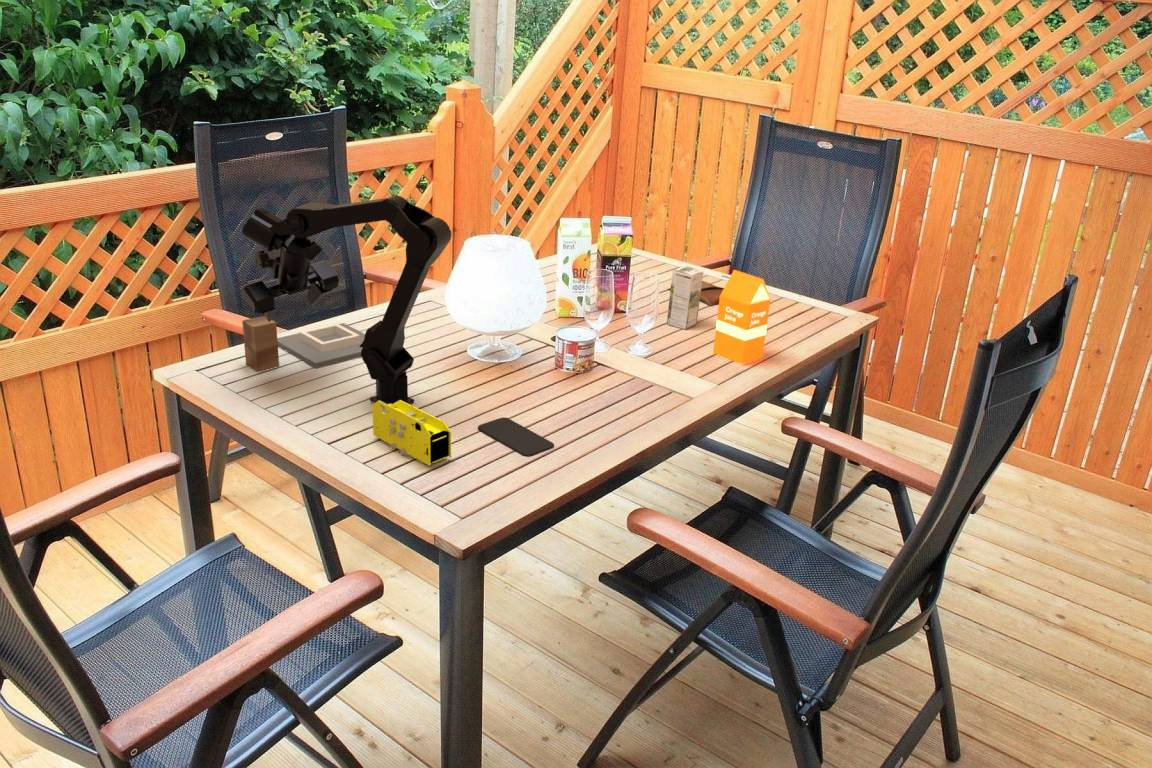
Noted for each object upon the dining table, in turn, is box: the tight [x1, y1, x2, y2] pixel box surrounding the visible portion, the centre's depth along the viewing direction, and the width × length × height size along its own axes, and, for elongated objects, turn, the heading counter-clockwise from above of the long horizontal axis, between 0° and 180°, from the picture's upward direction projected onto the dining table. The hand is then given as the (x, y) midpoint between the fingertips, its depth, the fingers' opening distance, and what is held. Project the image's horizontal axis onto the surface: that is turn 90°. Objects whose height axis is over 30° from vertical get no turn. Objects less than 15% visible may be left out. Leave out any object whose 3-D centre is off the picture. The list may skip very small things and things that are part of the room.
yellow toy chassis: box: [371, 400, 452, 466], centre depth 172 cm, size 16×6×8 cm, turn 48°
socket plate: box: [277, 322, 365, 369], centre depth 216 cm, size 18×18×3 cm
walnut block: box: [241, 315, 280, 373], centre depth 203 cm, size 5×5×10 cm
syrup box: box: [666, 265, 704, 330], centre depth 241 cm, size 6×6×14 cm
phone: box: [477, 416, 555, 458], centre depth 180 cm, size 7×1×15 cm
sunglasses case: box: [667, 280, 725, 307], centre depth 267 cm, size 18×7×7 cm, turn 41°
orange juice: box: [712, 269, 771, 364], centre depth 222 cm, size 8×9×20 cm
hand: (288, 312), depth 199 cm, fingers open, 9 cm apart
